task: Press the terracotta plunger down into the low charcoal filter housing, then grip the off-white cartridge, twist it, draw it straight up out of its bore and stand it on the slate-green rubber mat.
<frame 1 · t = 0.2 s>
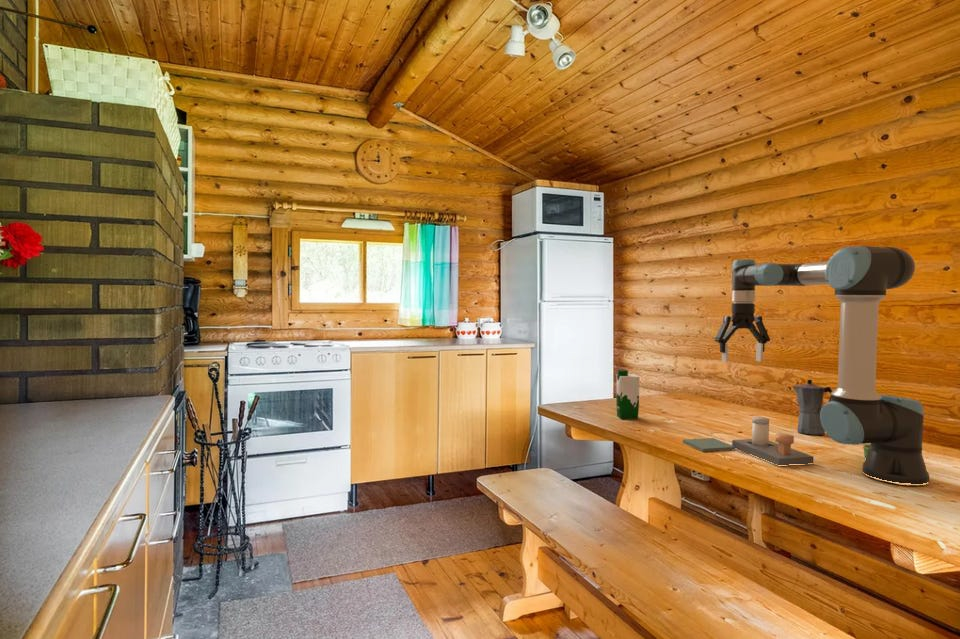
hand: (742, 361, 201), 28 cm above the table, tool pointing down, fingers open, 13 cm apart
ramekin: (880, 462, 172), on the table
housing: (770, 455, 179), on the table
moka pot: (812, 433, 208), on the table
cartridge: (759, 451, 183), resting in housing
milk carton: (627, 418, 235), on the table
plunger: (784, 445, 172), point 5 cm above the table, slide at 0.0 cm
mat: (708, 446, 190), on the table
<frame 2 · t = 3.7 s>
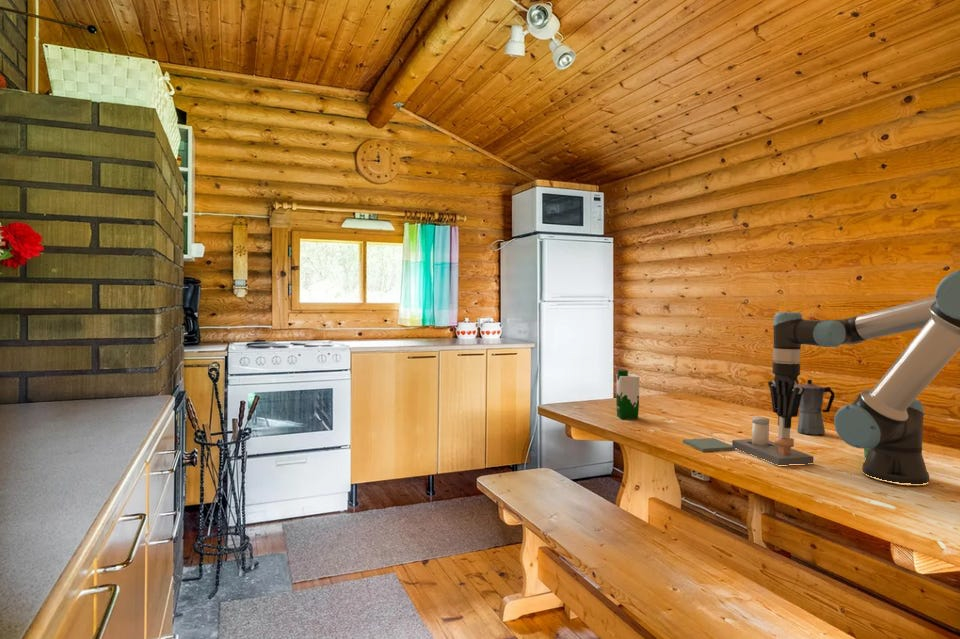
hand: (784, 437, 172), 7 cm above the table, tool pointing down, fingers closed
plunger: (784, 448, 172), point 4 cm above the table, slide at 1.0 cm, touching gripper
everything else where it was.
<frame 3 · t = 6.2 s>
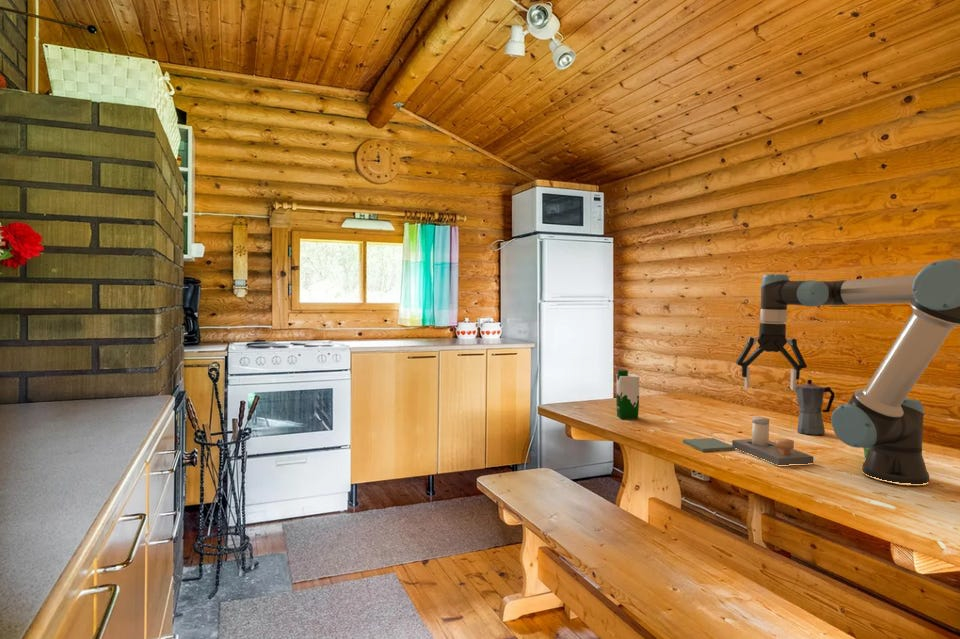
hand: (769, 388, 178), 22 cm above the table, tool pointing down, fingers open, 13 cm apart
plunger: (784, 450, 173), point 3 cm above the table, slide at 1.6 cm
everything else where it was.
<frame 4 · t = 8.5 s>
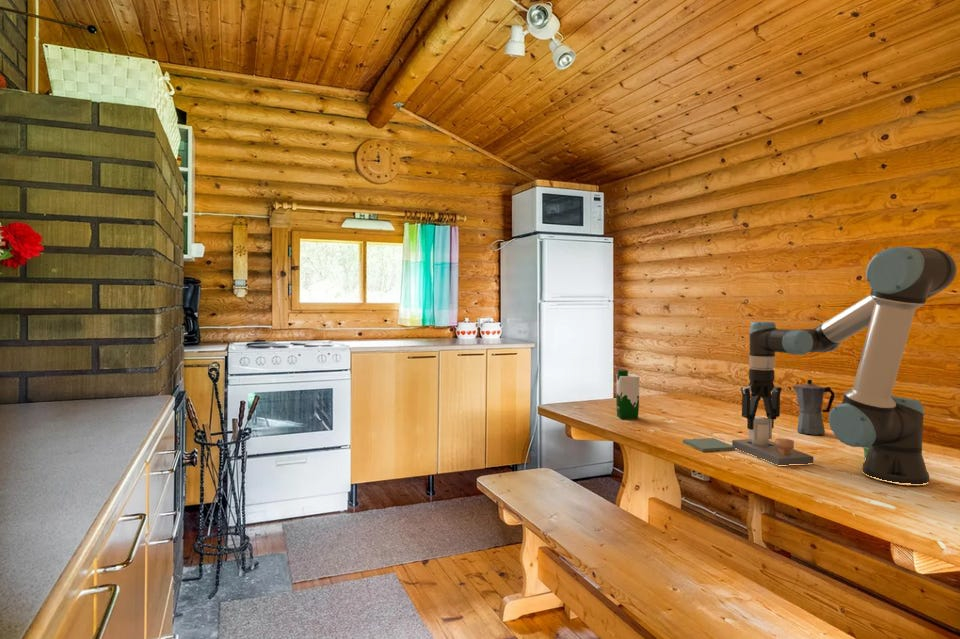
hand: (760, 438, 183), 4 cm above the table, tool pointing down, fingers closed on cartridge, 5 cm apart
cartridge: (759, 451, 183), resting in housing, touching gripper
everything else where it was.
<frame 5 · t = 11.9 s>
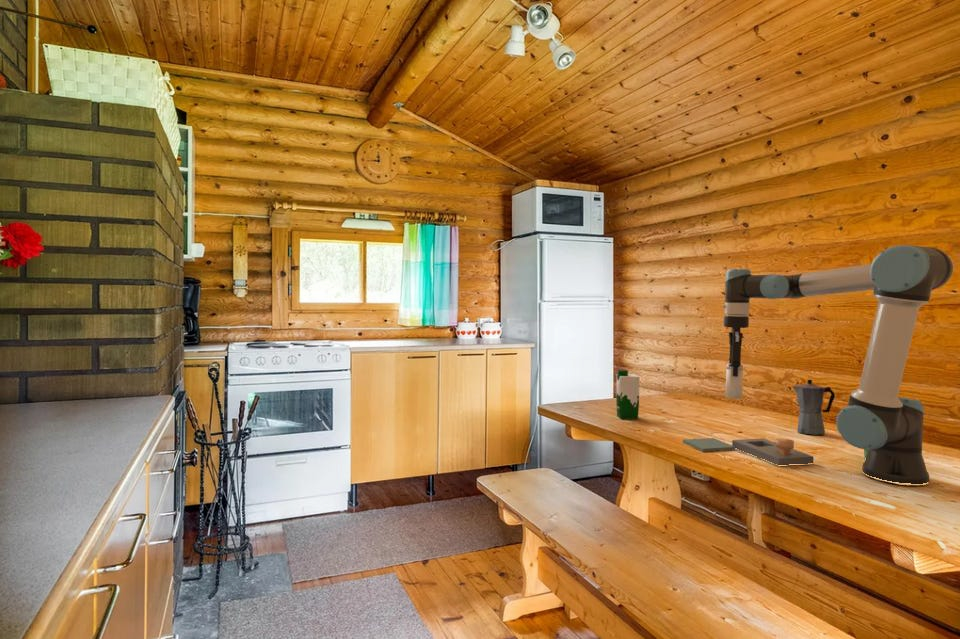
hand: (733, 384, 186), 22 cm above the table, tool pointing down, fingers closed on cartridge, 5 cm apart
cartridge: (733, 397, 187), point 17 cm above the table, touching gripper
everything else where it was.
when the fingers open (7 cm above the table, at t = 15.4 s): cartridge drops 1 cm, resting on mat.
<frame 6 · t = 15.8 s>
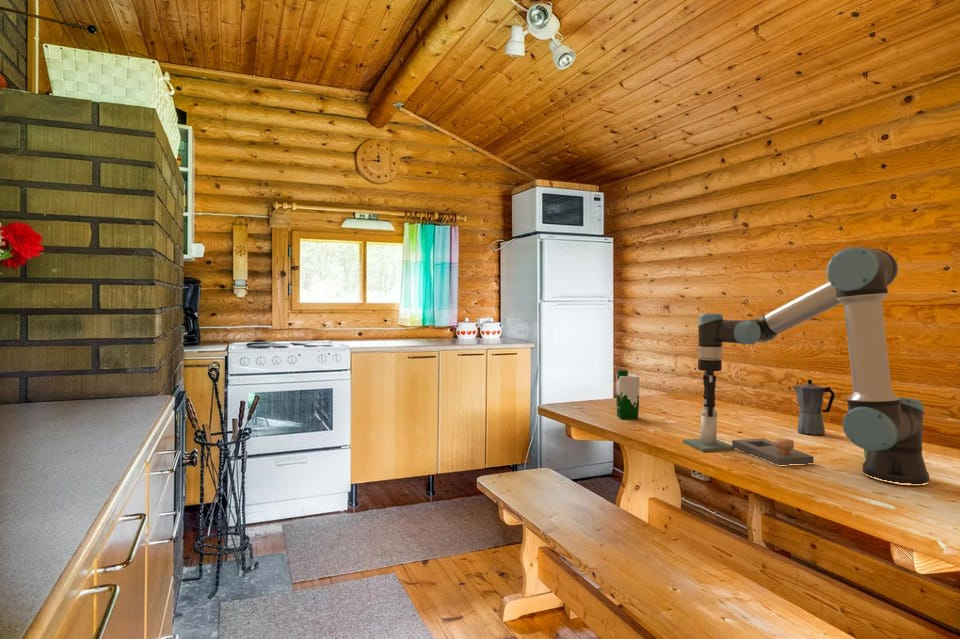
hand: (708, 422, 189), 8 cm above the table, tool pointing down, fingers open, 11 cm apart
cartridge: (708, 443, 190), point 1 cm above the table, touching mat
everything else where it was.
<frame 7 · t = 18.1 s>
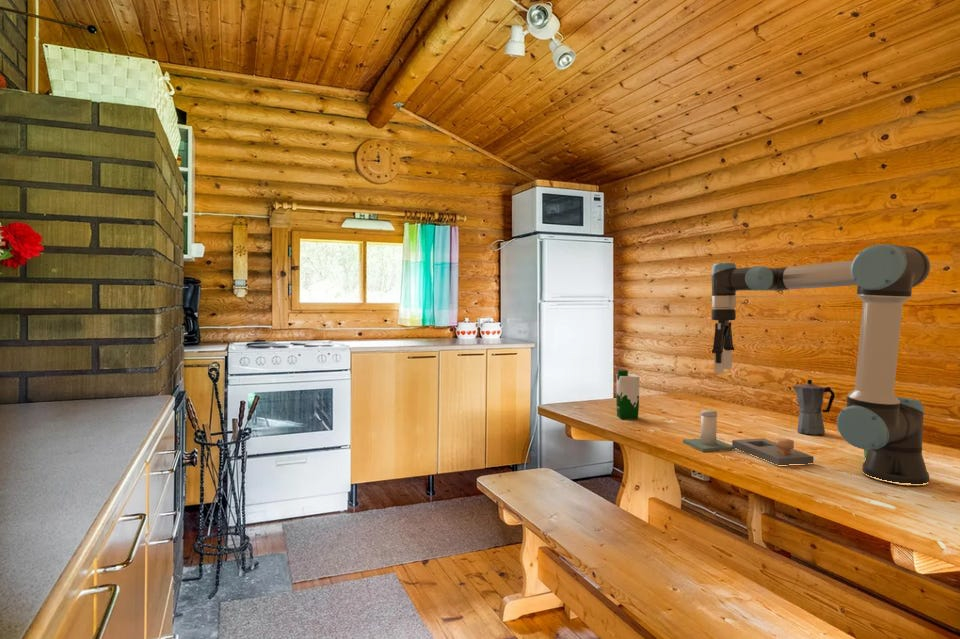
hand: (723, 370, 189), 26 cm above the table, tool pointing down, fingers open, 13 cm apart
nothing on the table moved.
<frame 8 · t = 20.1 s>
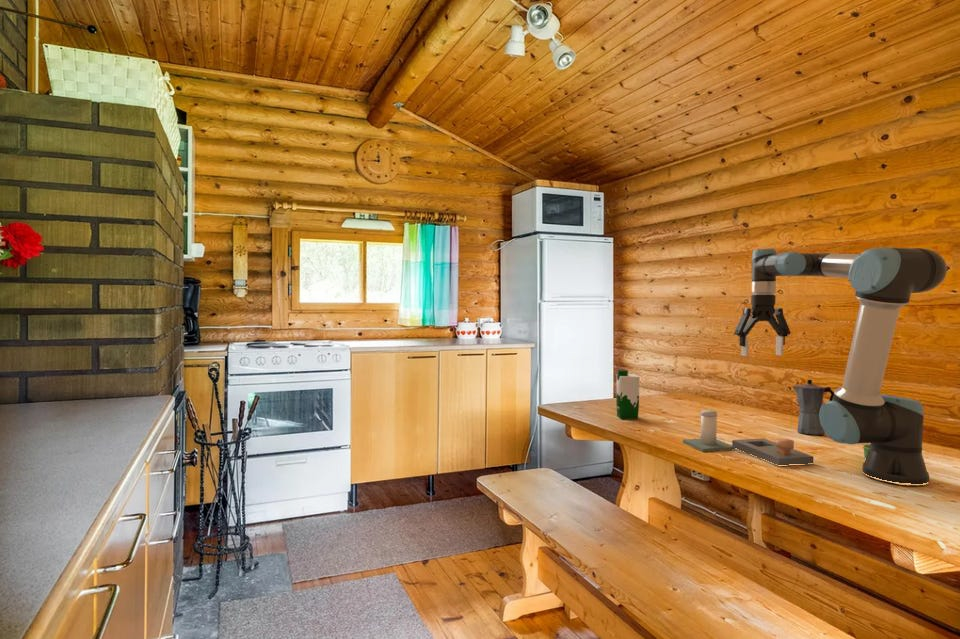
hand: (762, 355, 192), 31 cm above the table, tool pointing down, fingers open, 13 cm apart
nothing on the table moved.
at the end: plunger slide at 1.6 cm; cartridge inside the target area (0.1 cm from its centre), point 1.0 cm above the table; cartridge tilted 0° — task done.
